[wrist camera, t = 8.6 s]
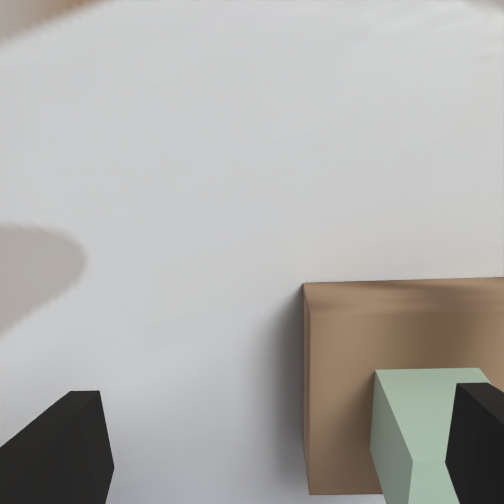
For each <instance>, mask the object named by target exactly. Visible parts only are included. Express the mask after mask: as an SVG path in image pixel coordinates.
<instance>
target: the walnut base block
mask: <svg viewBox="0 0 504 504" xmlns="http://www.w3.org/2000/svg"><path fill="white" fill-rule="evenodd" d="M440 368H479V369H480V370H481V371H482V372H483V374H484V375H485V376H486V377H487V379H488V380H489V381H490V382H491V384H492V385H493V386H494V387H496V388H498V389H499V390H501V391H502V392H504V277H494V278H459V279H424V280H389V281H354V282H319V283H303V447H304V455H305V464H306V472H307V480H308V488H309V495H345V494H383V491H382V488H381V485H380V481H379V478H378V475H377V472H376V468H375V465H374V462H373V459H372V455H371V452H370V439H371V425H372V411H373V397H374V382H375V370H390V369H440Z"/></svg>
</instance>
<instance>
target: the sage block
mask: <svg viewBox="0 0 504 504" xmlns="http://www.w3.org/2000/svg"><path fill="white" fill-rule="evenodd" d="M481 382H488V383H490V384H491V382H490V381H489V380H488V379H487V377H486V376H485V375H484V374H483V372H482V371H481V370H480V369H479V368H440V369H390V370H375V382H374V397H373V411H372V425H371V439H370V452H371V455H372V459H373V462H374V465H375V468H376V472H377V475H378V478H379V481H380V485H381V488H382V491H383V495H384V498H385V501H386V504H460V503H459V501H458V498H457V495H456V493H455V490H454V487H453V484H452V482H451V479H450V476H449V473H448V470H447V467H446V464H445V459H446V452H447V445H448V438H449V431H450V424H451V417H452V411H453V404H454V397H455V390H456V383H481ZM491 385H492V384H491Z"/></svg>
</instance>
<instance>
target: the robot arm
mask: <svg viewBox="0 0 504 504" xmlns="http://www.w3.org/2000/svg"><path fill="white" fill-rule="evenodd" d="M445 464H446V467H447V470H448V473H449V476H450V479H451V482H452V484H453V487H454V490H455V493H456V495H457V498H458V501H459V503H460V504H504V392H502V391H501V390H499V389H498V388H496V387H494V386H493V385H491V384H490V383H488V382H481V383H456V390H455V397H454V404H453V411H452V417H451V424H450V431H449V438H448V445H447V452H446V459H445ZM113 471H114V463H113V458H112V453H111V448H110V442H109V437H108V432H107V427H106V422H105V417H104V411H103V406H102V401H101V396H100V391H70V392H69V393H67V394H66V395H64V396H63V397H62V398H61V399H59V400H58V401H57V402H55V403H54V404H53V405H52V406H50V407H49V408H48V409H47V410H46V411H44V412H43V413H42V414H41V415H39V416H38V417H37V418H36V419H35V420H33V421H32V422H31V423H30V424H29V425H27V426H26V427H25V428H24V429H22V430H21V431H20V432H19V433H18V434H16V435H15V436H14V437H13V438H12V439H10V440H9V441H8V442H7V443H5V444H4V445H3V446H2V447H0V504H105V502H106V498H107V495H108V491H109V487H110V483H111V479H112V475H113Z"/></svg>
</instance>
